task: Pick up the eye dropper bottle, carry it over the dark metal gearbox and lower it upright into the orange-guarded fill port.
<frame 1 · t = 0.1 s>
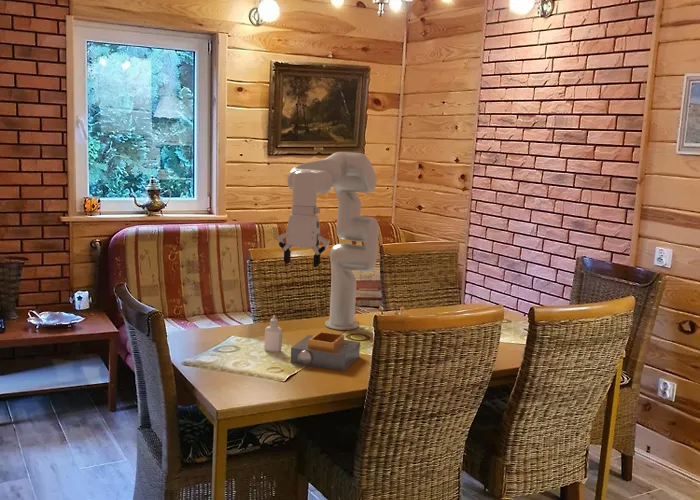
hand: (301, 264, 228), 31 cm above the table, tool pointing down, fingers open, 9 cm apart
eye dropper bottle: (272, 351, 241), on the table
gearbox: (325, 359, 234), on the table
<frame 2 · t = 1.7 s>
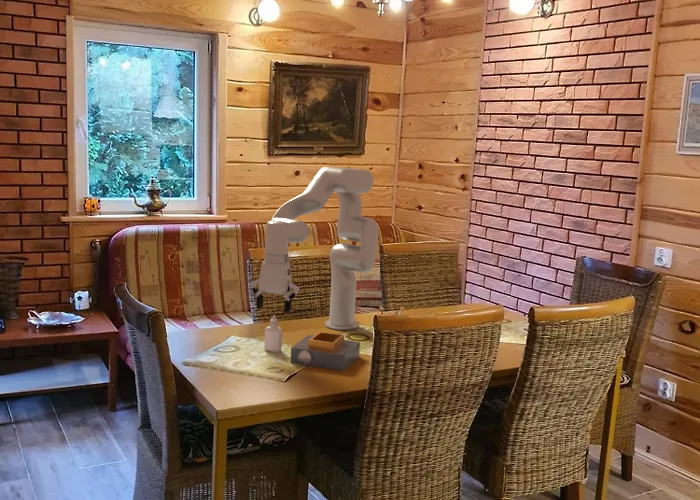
hand: (273, 310, 238), 14 cm above the table, tool pointing down, fingers open, 9 cm apart
nothing on the table moved.
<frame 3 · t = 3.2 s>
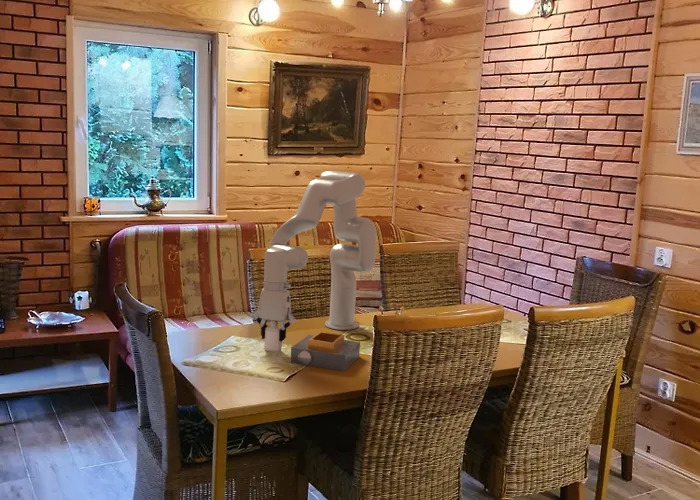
hand: (273, 338, 240), 4 cm above the table, tool pointing down, fingers closed on eye dropper bottle, 5 cm apart
eye dropper bottle: (272, 351, 241), on the table, touching gripper
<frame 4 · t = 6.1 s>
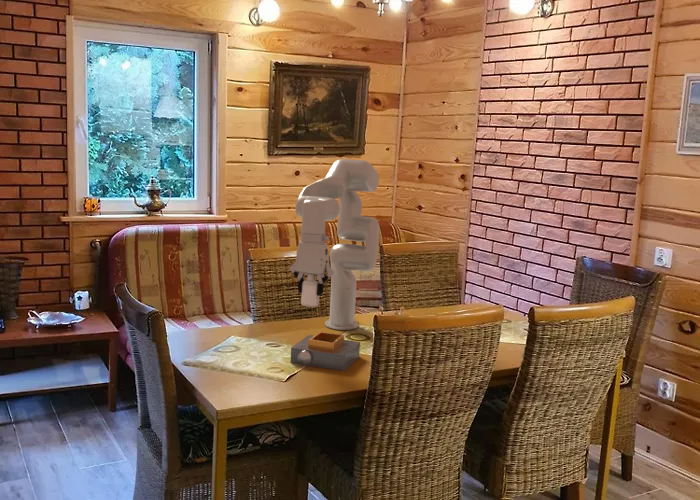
hand: (310, 293, 233), 21 cm above the table, tool pointing down, fingers closed on eye dropper bottle, 5 cm apart
eye dropper bottle: (309, 306, 234), point 17 cm above the table, touching gripper
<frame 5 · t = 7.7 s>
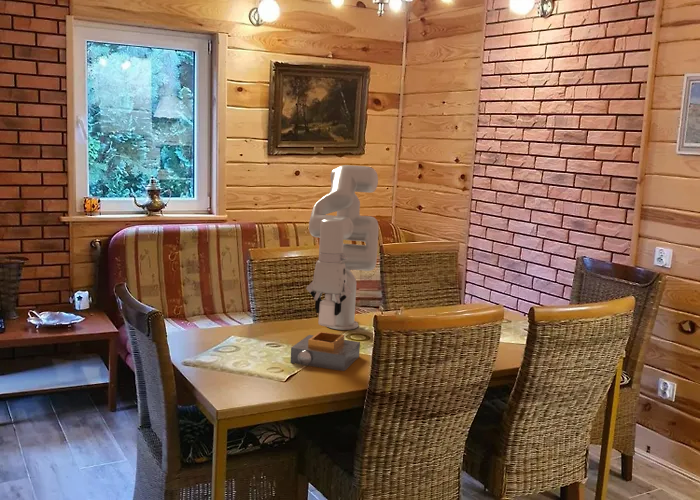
hand: (327, 312, 232), 16 cm above the table, tool pointing down, fingers closed on eye dropper bottle, 5 cm apart
eye dropper bottle: (327, 325, 232), point 11 cm above the table, touching gripper
when the fingers open (10 cm above the table, at t = 9.0 s): eye dropper bottle drops 1 cm, resting on gearbox.
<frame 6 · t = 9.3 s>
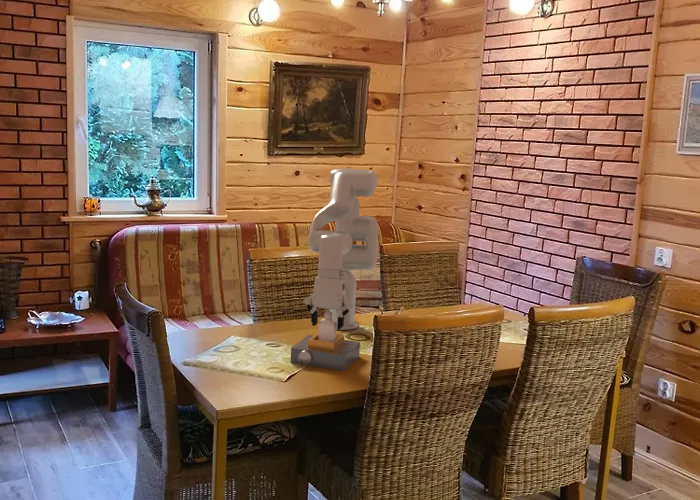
hand: (327, 326, 232), 11 cm above the table, tool pointing down, fingers open, 8 cm apart
eye dropper bottle: (326, 344, 234), point 5 cm above the table, touching gearbox
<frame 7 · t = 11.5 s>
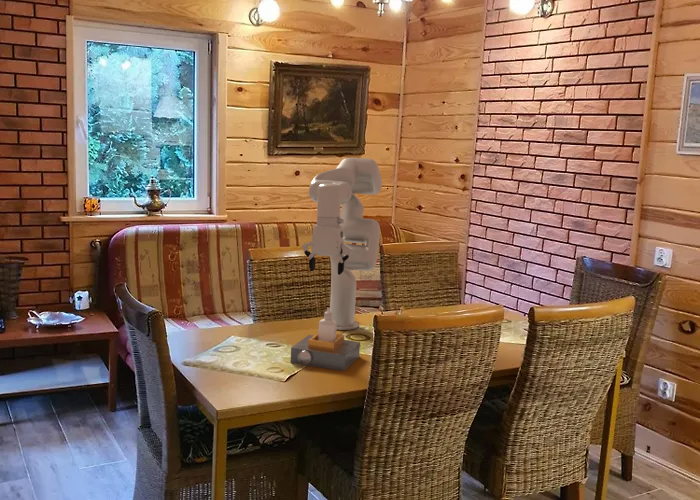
hand: (326, 272, 240), 27 cm above the table, tool pointing down, fingers open, 9 cm apart
nothing on the table moved.
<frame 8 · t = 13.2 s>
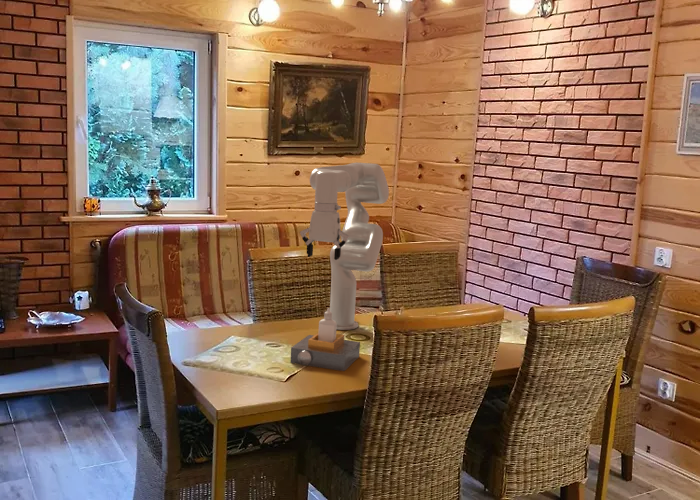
hand: (323, 257, 247), 30 cm above the table, tool pointing down, fingers open, 9 cm apart
nothing on the table moved.
at the end: eye dropper bottle 0.1 cm off-centre on the gearbox, point 4.9 cm above the gearbox's base; eye dropper bottle tilted 0°; the gripper is holding nothing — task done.
